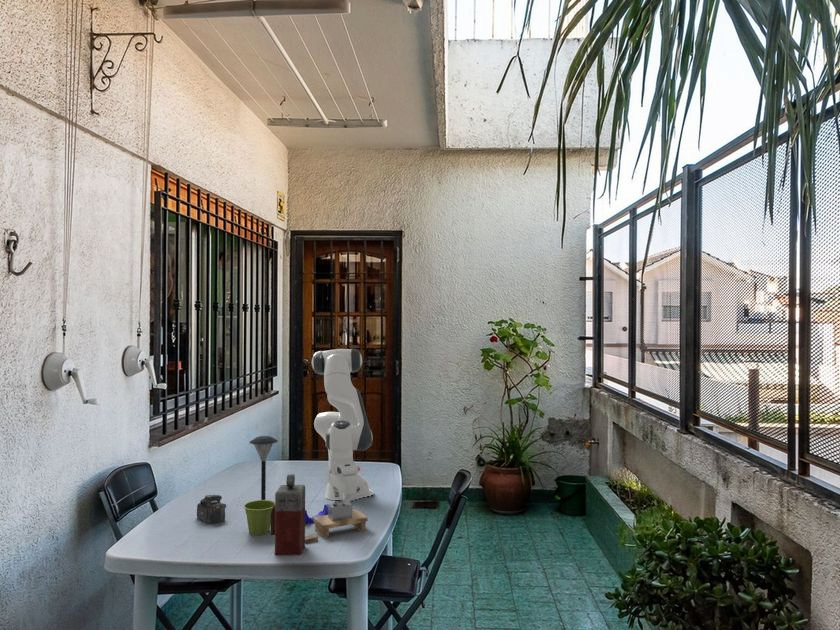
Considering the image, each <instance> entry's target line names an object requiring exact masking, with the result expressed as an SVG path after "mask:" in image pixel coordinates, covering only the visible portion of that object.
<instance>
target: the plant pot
mask: <svg viewBox="0 0 840 630" xmlns="http://www.w3.org/2000/svg"><path fill="white" fill-rule="evenodd" d="M274 504H275V501H274V500H273V501H272V500H267V499H265V500H261V499H258V500H252V501H248V502H246V503H244V504H243V508H244V509H245V511H244V512H245V514H246V520H247V528H248V534H249V535H251V536H261V535H266V534H268V533H269V532H270V531H271V511H272V508H273V506H274Z"/></svg>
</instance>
